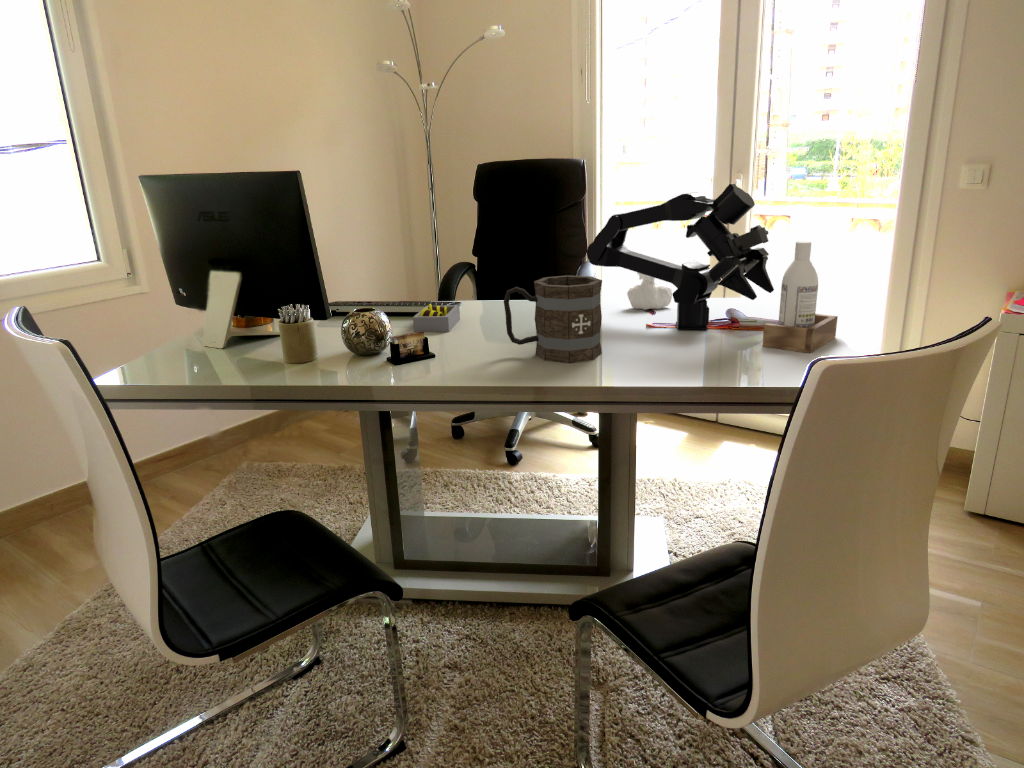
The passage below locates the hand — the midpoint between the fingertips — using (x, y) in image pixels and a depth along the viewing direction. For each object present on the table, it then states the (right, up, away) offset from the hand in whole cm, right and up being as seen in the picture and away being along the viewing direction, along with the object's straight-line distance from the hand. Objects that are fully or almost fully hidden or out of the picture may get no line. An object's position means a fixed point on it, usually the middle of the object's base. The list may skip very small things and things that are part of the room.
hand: (763, 295), depth 154 cm
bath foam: (+6, -9, -2) cm, 11 cm away
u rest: (+6, -10, -2) cm, 12 cm away
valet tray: (-72, -5, +22) cm, 75 cm away
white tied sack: (-18, +1, +35) cm, 40 cm away
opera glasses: (-72, -5, +22) cm, 76 cm away
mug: (-45, -13, -6) cm, 47 cm away
